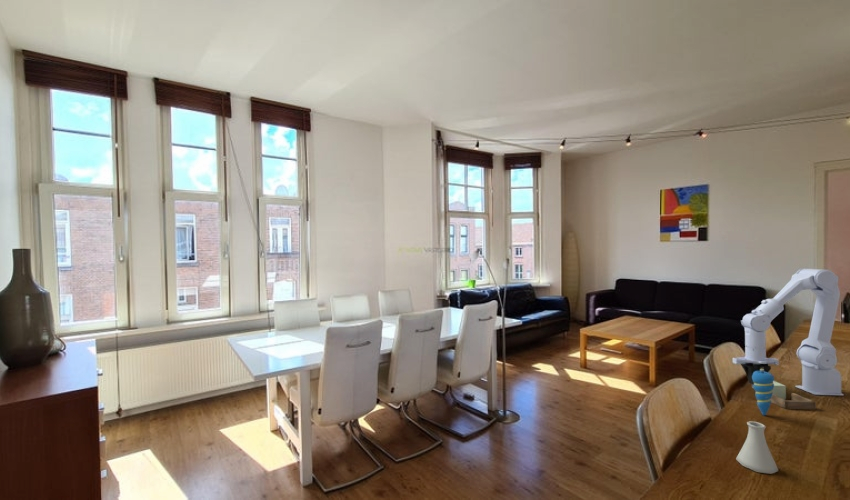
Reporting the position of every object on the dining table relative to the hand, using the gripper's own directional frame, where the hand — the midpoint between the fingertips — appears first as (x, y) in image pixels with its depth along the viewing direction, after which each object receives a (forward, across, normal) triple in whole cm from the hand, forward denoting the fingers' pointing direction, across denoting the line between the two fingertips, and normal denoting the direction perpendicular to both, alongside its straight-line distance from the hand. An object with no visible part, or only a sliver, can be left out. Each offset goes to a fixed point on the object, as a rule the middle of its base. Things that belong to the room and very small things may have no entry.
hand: (755, 383), depth 139 cm
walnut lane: (+2, 0, -14) cm, 14 cm away
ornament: (+2, -15, -24) cm, 28 cm away
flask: (+2, -38, -53) cm, 65 cm away
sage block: (+2, 0, -5) cm, 5 cm away
